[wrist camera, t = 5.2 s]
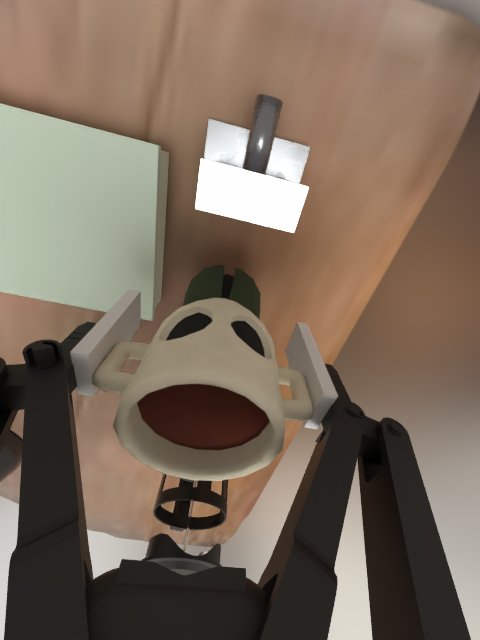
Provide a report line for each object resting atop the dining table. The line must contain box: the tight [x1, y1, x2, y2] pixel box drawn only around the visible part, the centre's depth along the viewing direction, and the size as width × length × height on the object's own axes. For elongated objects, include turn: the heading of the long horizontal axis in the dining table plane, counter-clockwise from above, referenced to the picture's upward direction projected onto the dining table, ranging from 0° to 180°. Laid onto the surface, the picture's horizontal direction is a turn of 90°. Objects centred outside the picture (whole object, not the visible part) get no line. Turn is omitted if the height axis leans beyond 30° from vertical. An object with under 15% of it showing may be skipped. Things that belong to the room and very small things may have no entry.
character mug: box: [92, 265, 313, 481], centre depth 15 cm, size 11×7×13 cm, turn 78°
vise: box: [195, 94, 310, 233], centre depth 21 cm, size 8×25×9 cm, turn 167°
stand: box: [0, 103, 169, 321], centre depth 21 cm, size 15×15×4 cm
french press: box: [141, 474, 228, 575], centre depth 31 cm, size 12×9×23 cm
